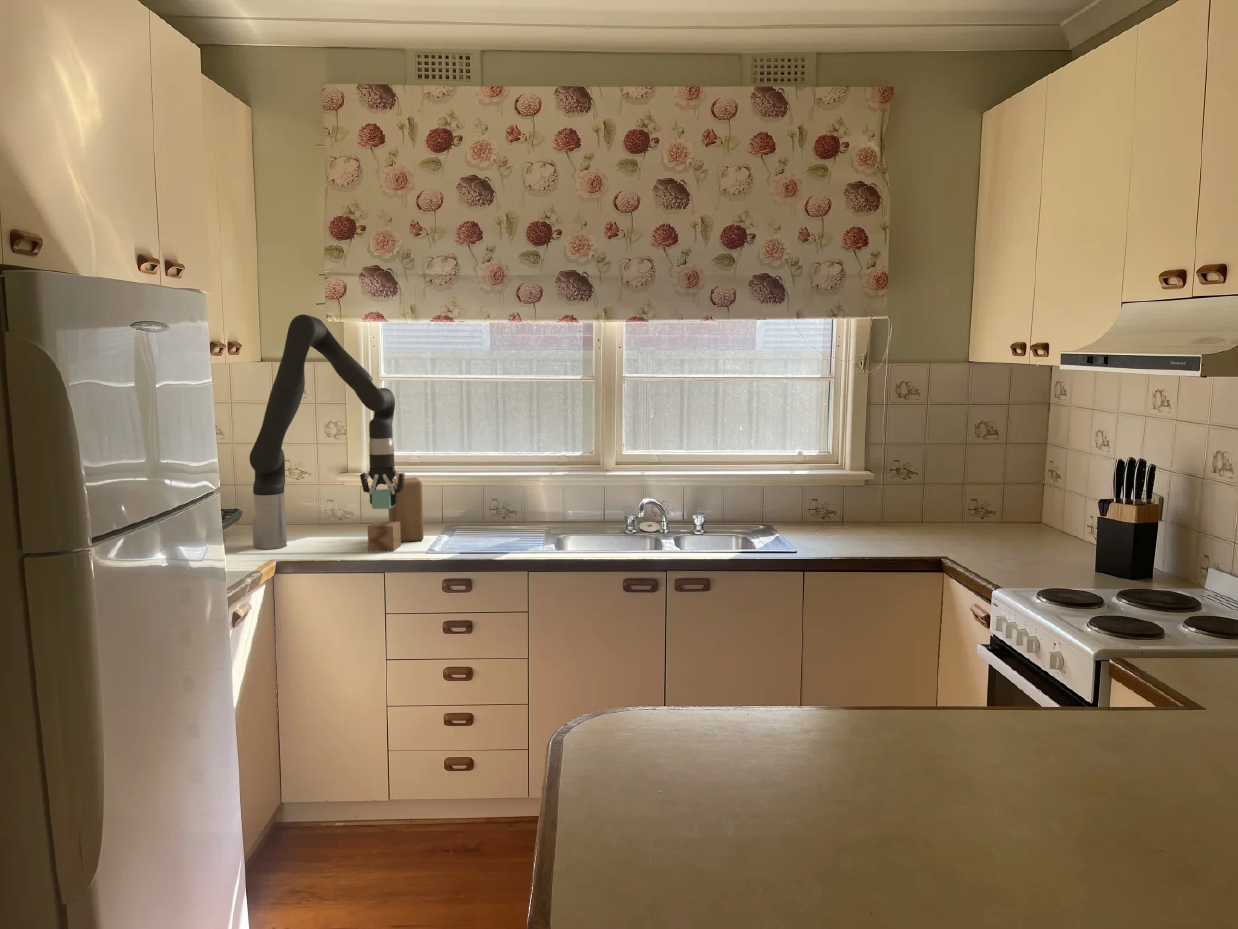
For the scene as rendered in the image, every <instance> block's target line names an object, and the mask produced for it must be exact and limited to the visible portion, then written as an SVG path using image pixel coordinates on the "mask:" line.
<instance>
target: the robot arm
mask: <svg viewBox="0 0 1238 929" xmlns="http://www.w3.org/2000/svg"><path fill="white" fill-rule="evenodd" d="M311 347H312V348H313V349H314V350H315V351H317V352H318V353H320V354H321V355H322V356H323V357H324V358H325V359H326V360H327V361H328V362H329V363H330V365H331V366H332V368H333V369H334V371H335V373H336V374H337V375H338V376H339V377H340V379H341V380H343V381H344V383H345V384H347V385H348V386H349V387H350V388H351V390H353V391H354V393H355V395H356V396H357V398H358V399H359V401H361V403H362V404H363V406H365V407H366V408H367V409H368V410H370V411H372V412H373V418H372V419H371V420H370V421H369V424H368V433H369V437H368V438H369V441H368V454H369V455H368V457H369V460H368V461H369V471H367V472H362V473H360V474H359V478H360V481H361V487H362V490H363V491H362V492H363V493H368V494H369V503H370V505H372V491H374V490H376V489H378V486H379V485H384V486H385V485H386V486H387V489H388V488H389V489H390V491H391V506H394V505H395V504H396V503H397V493H398V492H400V491H402V490H403V484H404V478H406V474H405V472H397V471H396V470H395V445H394V440H393V437H394V436H393V420H394V416H395V408H396V399H395V395H394V393H393V391H392V390H390V388H387V387H379V388H378V387H377V386H376V385H375V384H374V383H373V382H372V381H373V377H372V376H371V374H370V373H369V372H368V371H367V370H366V368H364V367H363V366H362V365H361V364H360V363H359V362H358V361H357V360H356V359H355V358H354V357H353V356H351V354H350V353H349V352H347V351H346V349H344V348H343V346H342V345H341V344H340V343H339V342H338V340H337V339H336V338H335V337H334V336H333V334H332V332H331V331H330V330H329V329H328V326H326V324H325V323H324V322H323V321H322V320H321V319H320V318H318V317H315V316H312V315H309V314H298V315H296V316H295V317H293V318H292V320H291V321H290V323H289V326H288V328H287V332H286V339H285V343H284V349H283V353H282V355H281V356H282V357H281V360H280V362H279V366H278V369H277V373H276V376H275V379H274V381H273V384H272V387H271V391H270V393H269V397H268V401H267V404H266V408H265V412H264V416H263V421H262V425H261V428H260V430H259V432H258V435H257V438H256V440H255V442H254V445H253V447H252V449H251V451H250V454H249V458H248V459H249V464H250V466H251V468H252V469H253V470H254V482H253V486H252V494H253V510H254V512H253V514H254V517H252V518H251V525H252V544H253V545H252V546H253V549H260V550H272V549H273V550H274V549H281V548H284V547H286V546H288V545H287V543H288V542H287V540H288V538H287V523H286V522H287V521H286V503H285V502H286V500H285V484H286V462H285V461H286V460H285V453H284V449H282V447H283V443H284V440H285V436H286V433H287V431H288V429H289V427H290V425H291V424H292V422H293V420H294V418H295V416H296V414H297V413H298V409H299V408H300V404H301V401H302V398H303V397H304V396H303V395H304V392H305V387H306V382H305V381H306V377H305V376H306V375H305V366H306V365H305V364H306V360H307V356H308V353H309V350H310V348H311ZM395 476H396V479H398V485H397V489H396V487H395V484H394V482H393V479H395ZM369 477H370V479H371V480H372V482H371V485H369V481H368V479H369ZM391 482H392V483H391Z"/></svg>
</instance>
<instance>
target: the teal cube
mask: <svg viewBox="0 0 1238 929" xmlns="http://www.w3.org/2000/svg"><path fill="white" fill-rule="evenodd" d="M394 506H395V505H394ZM394 506H391V491H390V489H388V488H376V490H374V491H372V504H371V509H372V510H377V509H378V510H389V509H390V508H392V507H394Z"/></svg>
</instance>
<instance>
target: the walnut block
mask: <svg viewBox="0 0 1238 929" xmlns="http://www.w3.org/2000/svg"><path fill="white" fill-rule="evenodd" d="M367 543H368V544H367V545H368V546H367V551H368V552H395V551H396V550H398V549H399V548H400V547H401V546H402V542H401V532H400V522H389V521H380V520H379V521H378V520H377V521H374V522H373V523H371V524H369V525H367Z"/></svg>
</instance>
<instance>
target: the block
mask: <svg viewBox="0 0 1238 929" xmlns="http://www.w3.org/2000/svg"><path fill="white" fill-rule="evenodd" d="M393 482H394V484H395V487H396V489H397V485H398V479H397V478H393ZM391 483H392V482H391ZM387 489H389V488H388V487H387ZM388 522H400V532H401V543H411V541H413V542H421V541H423V540H424V537H425V536H424V502H423V482H422V481H421V480H420V479H419V478H417V477H404V484H403V490H402V491H400V492H398V493H397V503H396V504H395V506H394V507H392V508H390V509H388Z"/></svg>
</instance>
